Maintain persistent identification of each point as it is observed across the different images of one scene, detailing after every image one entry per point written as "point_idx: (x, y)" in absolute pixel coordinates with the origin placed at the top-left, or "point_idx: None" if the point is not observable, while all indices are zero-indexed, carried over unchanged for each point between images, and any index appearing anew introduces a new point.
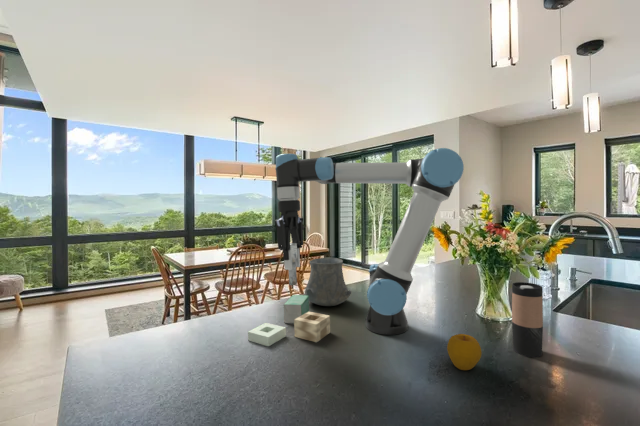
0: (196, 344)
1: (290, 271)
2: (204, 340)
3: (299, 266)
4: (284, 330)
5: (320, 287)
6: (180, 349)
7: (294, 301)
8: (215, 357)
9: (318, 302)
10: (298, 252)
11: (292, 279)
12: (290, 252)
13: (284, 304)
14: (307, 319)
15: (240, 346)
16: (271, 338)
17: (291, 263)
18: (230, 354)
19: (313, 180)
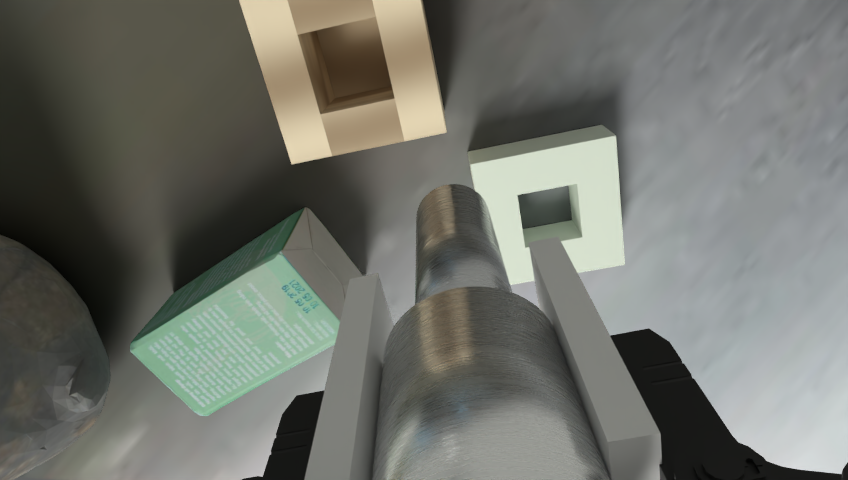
0: (755, 365)
1: (506, 274)
2: (713, 374)
3: (365, 280)
4: (480, 158)
5: (4, 350)
6: (817, 369)
7: (271, 325)
8: (803, 214)
9: (82, 303)
10: (346, 420)
11: (487, 218)
12: (628, 402)
13: None
14: (391, 67)
15: (673, 222)
16: (587, 136)
17: (558, 283)
18: (752, 190)
19: None
